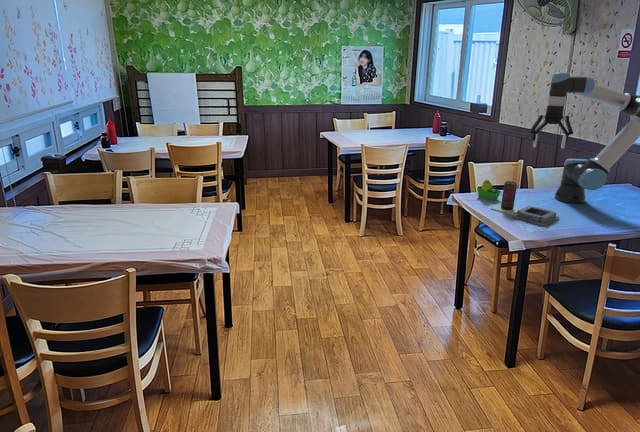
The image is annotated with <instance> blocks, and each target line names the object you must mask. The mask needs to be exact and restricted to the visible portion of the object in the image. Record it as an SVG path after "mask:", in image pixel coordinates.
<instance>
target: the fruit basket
mask: <svg viewBox="0 0 640 432" xmlns="http://www.w3.org/2000/svg"><path fill="white" fill-rule="evenodd" d="M493 186H494V185H493V183H492V182H491V181H490V180H489V179H485V180H484V181H483V182H482V186H481V187H480V186H479V187H477V188H476V190H477V196H478V198H481V199H484V200H486V201H490V202H493V201H497V200H498V198H499V197H500V194H501V193H502V190H498V189H496V188H493Z"/></svg>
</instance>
